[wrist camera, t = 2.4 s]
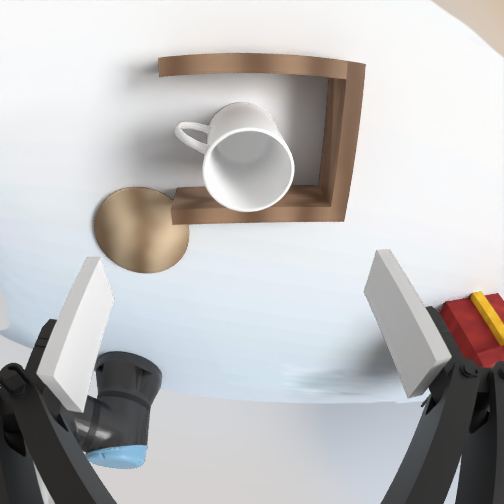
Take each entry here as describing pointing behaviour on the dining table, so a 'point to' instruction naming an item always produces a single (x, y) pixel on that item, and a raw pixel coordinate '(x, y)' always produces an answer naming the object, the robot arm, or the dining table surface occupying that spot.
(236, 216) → the cradle
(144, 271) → the coaster
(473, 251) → the dining table surface
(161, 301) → the dining table surface
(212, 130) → the mug
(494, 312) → the gift box
